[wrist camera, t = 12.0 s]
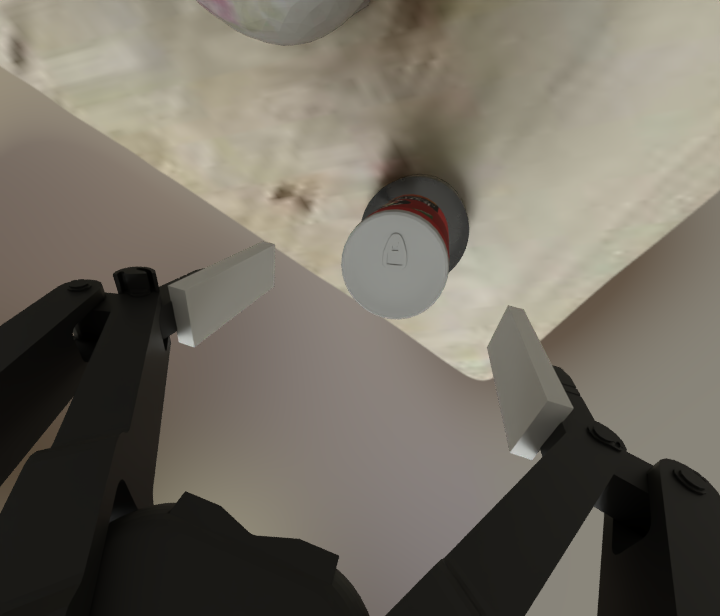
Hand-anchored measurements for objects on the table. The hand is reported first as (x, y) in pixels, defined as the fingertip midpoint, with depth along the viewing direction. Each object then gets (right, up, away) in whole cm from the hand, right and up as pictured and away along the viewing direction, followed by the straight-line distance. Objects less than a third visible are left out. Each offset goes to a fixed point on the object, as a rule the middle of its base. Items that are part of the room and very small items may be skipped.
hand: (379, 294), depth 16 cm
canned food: (+4, +7, +13) cm, 16 cm away
